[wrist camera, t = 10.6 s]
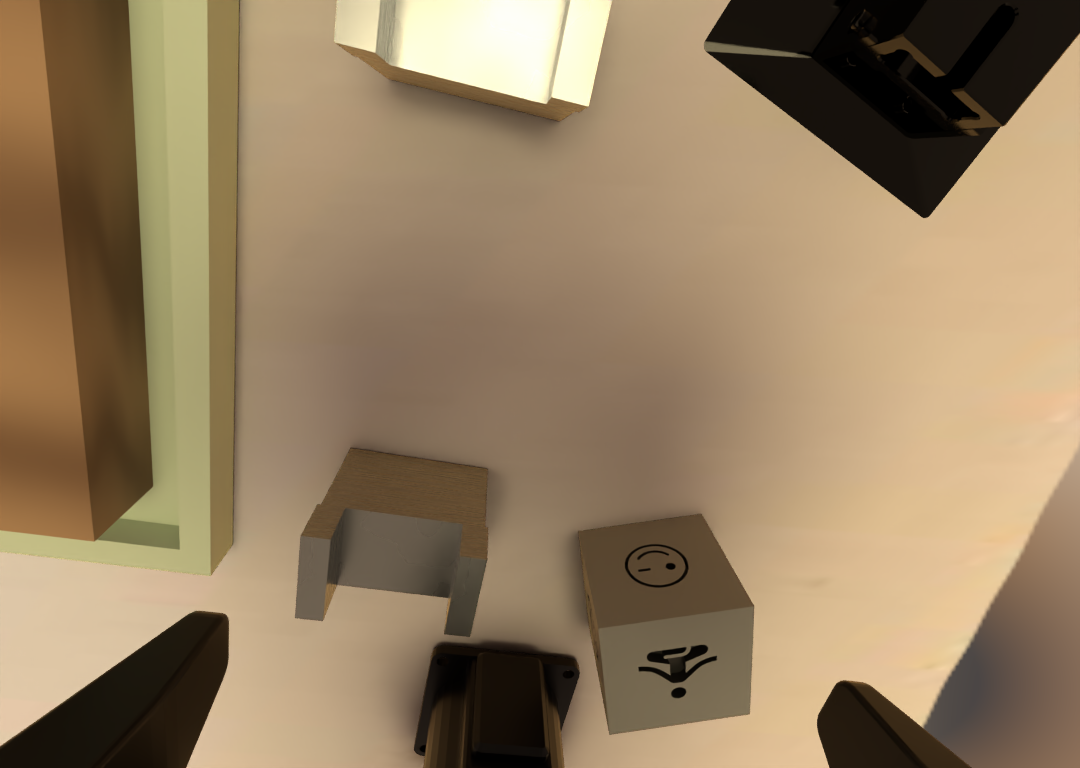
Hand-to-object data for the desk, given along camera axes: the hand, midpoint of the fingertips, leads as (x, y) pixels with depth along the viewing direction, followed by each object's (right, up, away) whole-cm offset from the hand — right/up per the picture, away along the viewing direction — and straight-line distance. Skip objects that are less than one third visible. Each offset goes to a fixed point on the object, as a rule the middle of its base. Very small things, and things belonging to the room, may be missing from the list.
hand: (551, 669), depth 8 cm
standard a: (-5, 0, +13) cm, 14 cm away
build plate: (+10, +14, +9) cm, 19 cm away
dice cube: (+4, -4, +15) cm, 16 cm away
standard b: (-2, +14, +7) cm, 16 cm away
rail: (-13, +9, +8) cm, 18 cm away
